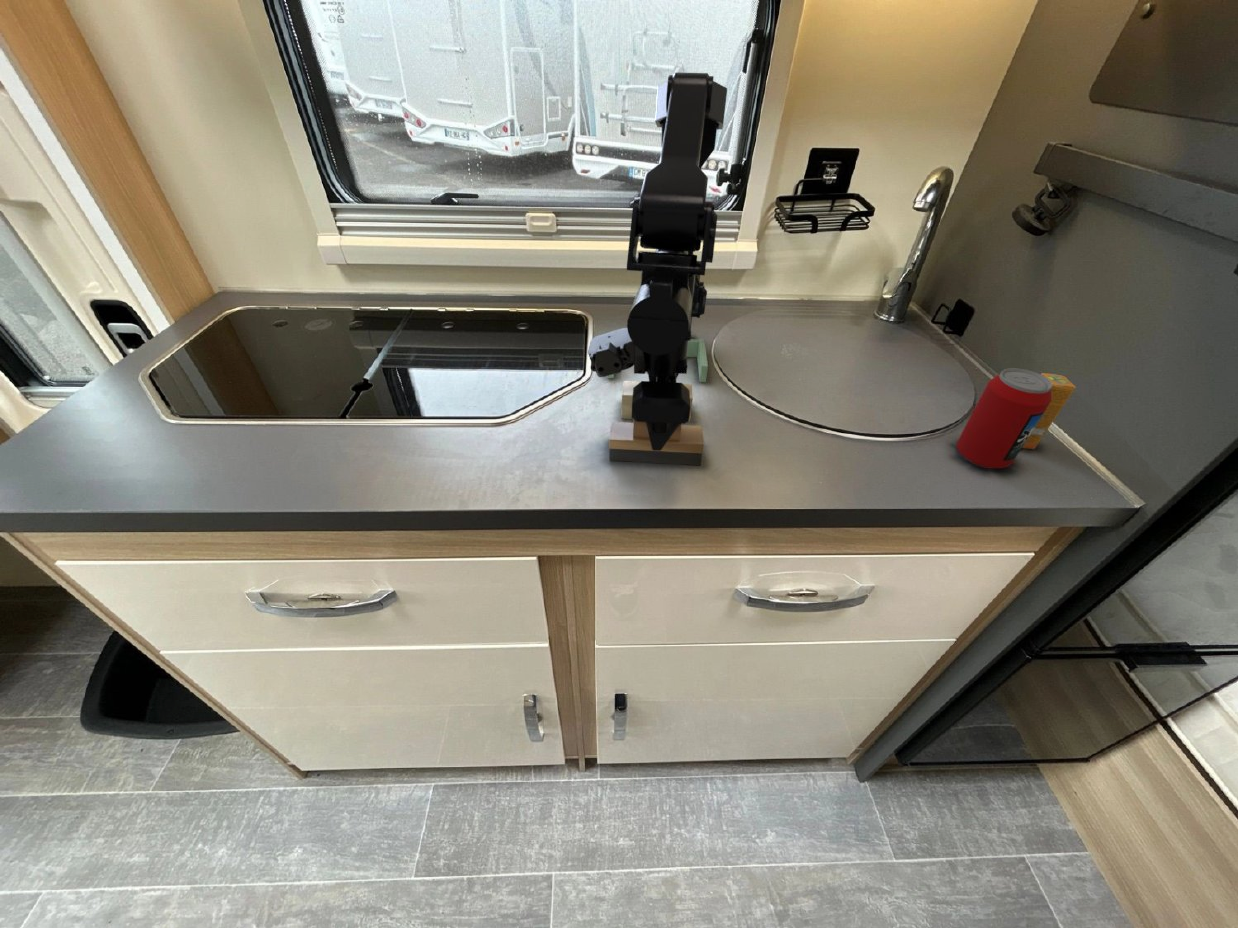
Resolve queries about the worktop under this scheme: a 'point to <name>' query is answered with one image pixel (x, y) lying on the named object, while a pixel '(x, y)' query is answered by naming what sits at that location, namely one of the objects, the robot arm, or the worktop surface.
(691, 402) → the block
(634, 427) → the brush
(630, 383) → the block
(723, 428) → the worktop surface
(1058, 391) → the supplement box
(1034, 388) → the beverage can
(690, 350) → the corral
